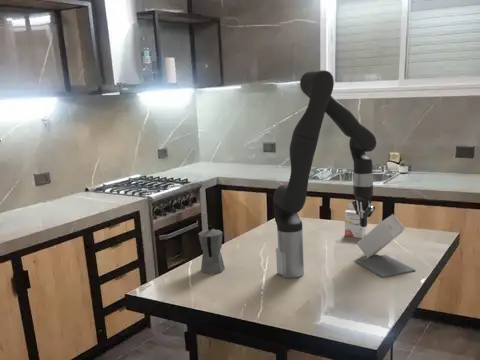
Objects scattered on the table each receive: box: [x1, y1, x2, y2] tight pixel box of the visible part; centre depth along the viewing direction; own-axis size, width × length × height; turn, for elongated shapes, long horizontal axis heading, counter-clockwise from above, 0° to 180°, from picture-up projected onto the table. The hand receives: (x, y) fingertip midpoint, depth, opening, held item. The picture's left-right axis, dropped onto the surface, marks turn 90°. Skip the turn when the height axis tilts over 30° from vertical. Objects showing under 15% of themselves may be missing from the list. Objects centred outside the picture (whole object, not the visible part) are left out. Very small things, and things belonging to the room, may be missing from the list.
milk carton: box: [356, 213, 406, 258], centre depth 183 cm, size 7×7×19 cm
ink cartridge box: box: [344, 202, 367, 239], centre depth 213 cm, size 9×5×15 cm, turn 58°
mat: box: [354, 254, 416, 278], centre depth 177 cm, size 14×18×1 cm
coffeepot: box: [198, 225, 226, 275], centre depth 180 cm, size 15×9×18 cm, turn 179°
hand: (363, 226), depth 187 cm, fingers closed
